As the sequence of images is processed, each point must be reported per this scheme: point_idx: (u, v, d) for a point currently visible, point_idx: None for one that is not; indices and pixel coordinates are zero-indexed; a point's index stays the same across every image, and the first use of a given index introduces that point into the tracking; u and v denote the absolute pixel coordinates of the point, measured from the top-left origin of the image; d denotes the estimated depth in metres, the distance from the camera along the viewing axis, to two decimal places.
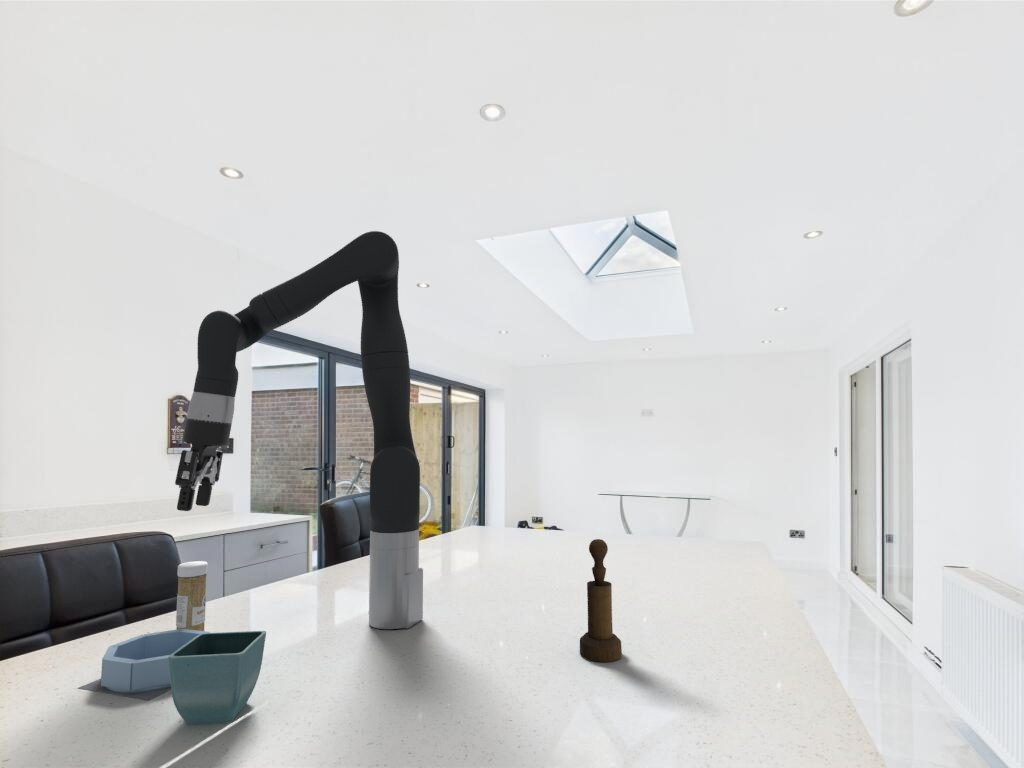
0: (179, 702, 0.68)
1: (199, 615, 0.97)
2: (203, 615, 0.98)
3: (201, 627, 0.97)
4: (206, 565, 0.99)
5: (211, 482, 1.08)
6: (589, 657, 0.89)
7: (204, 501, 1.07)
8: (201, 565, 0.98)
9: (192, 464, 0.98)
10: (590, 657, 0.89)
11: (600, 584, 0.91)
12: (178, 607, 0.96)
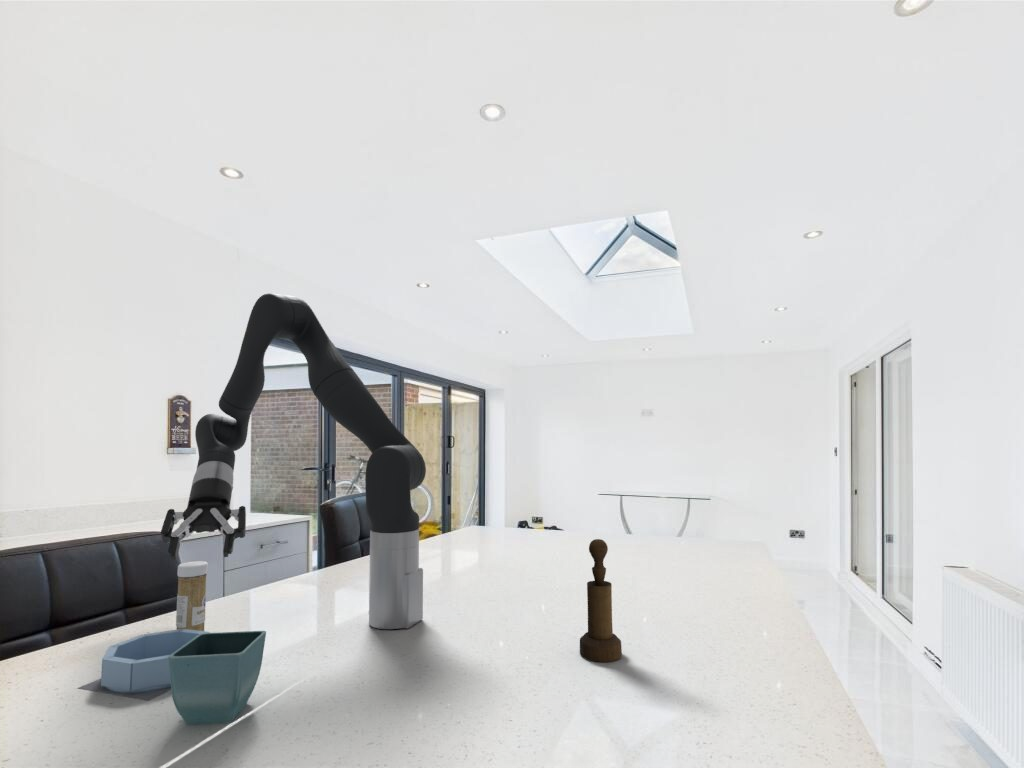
0: (179, 702, 0.68)
1: (199, 615, 0.97)
2: (203, 615, 0.98)
3: (201, 627, 0.97)
4: (206, 565, 0.99)
5: (226, 531, 1.09)
6: (589, 657, 0.89)
7: (224, 549, 1.07)
8: (201, 565, 0.98)
9: (165, 519, 1.08)
10: (590, 657, 0.89)
11: (600, 584, 0.91)
12: (178, 607, 0.96)
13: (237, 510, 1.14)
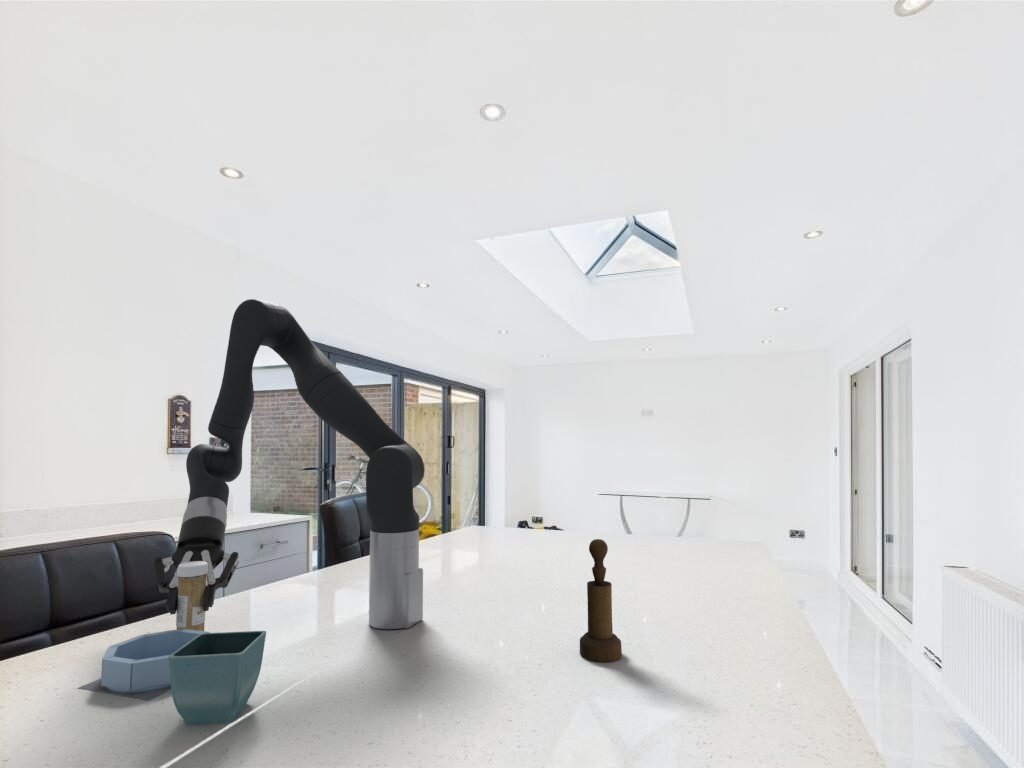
0: (179, 702, 0.68)
1: (199, 615, 0.97)
2: (203, 615, 0.98)
3: (201, 627, 0.97)
4: (206, 565, 0.99)
5: (207, 581, 1.00)
6: (589, 657, 0.89)
7: None
8: (201, 565, 0.98)
9: None
10: (590, 657, 0.89)
11: (600, 584, 0.91)
12: (178, 607, 0.96)
13: (230, 555, 1.05)
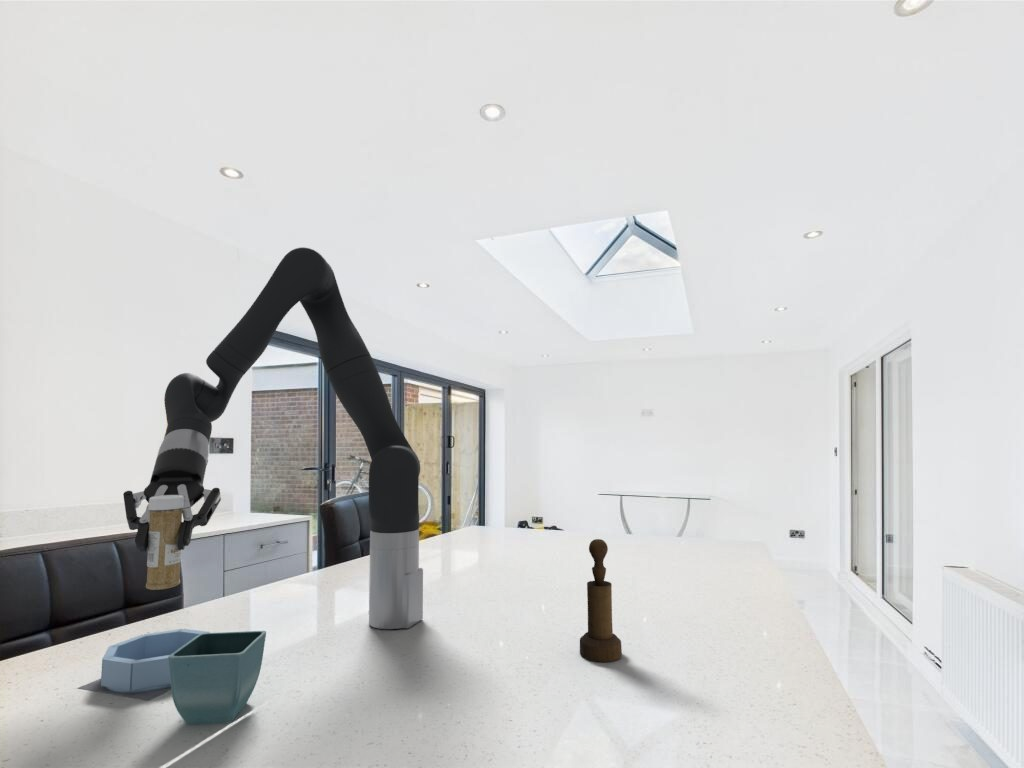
0: (179, 702, 0.68)
1: (174, 554, 0.85)
2: (178, 555, 0.86)
3: (176, 568, 0.85)
4: (182, 498, 0.87)
5: (183, 517, 0.88)
6: (589, 657, 0.89)
7: None
8: (176, 497, 0.86)
9: None
10: (590, 657, 0.89)
11: (600, 584, 0.91)
12: (149, 544, 0.84)
13: (210, 491, 0.93)
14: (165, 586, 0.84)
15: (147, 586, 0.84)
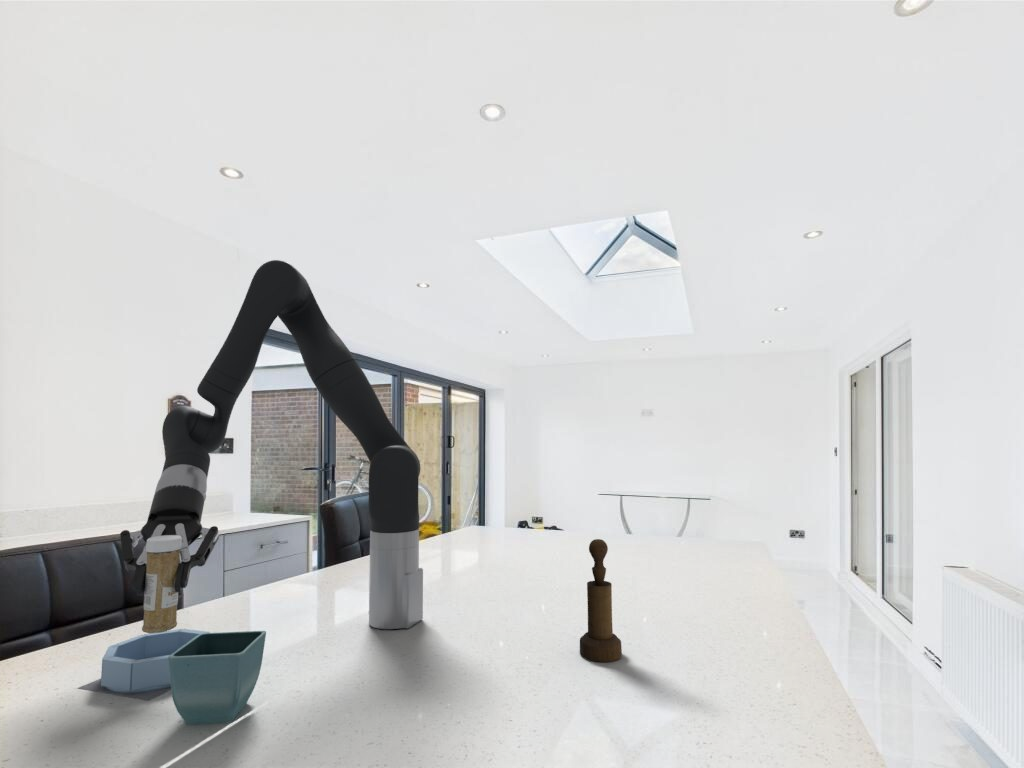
0: (179, 702, 0.68)
1: (171, 597, 0.84)
2: (176, 597, 0.85)
3: (173, 610, 0.85)
4: (180, 539, 0.86)
5: (181, 558, 0.87)
6: (589, 657, 0.89)
7: None
8: (173, 539, 0.85)
9: None
10: (590, 657, 0.89)
11: (600, 584, 0.91)
12: (146, 587, 0.83)
13: (208, 530, 0.92)
14: (162, 630, 0.83)
15: (143, 629, 0.83)
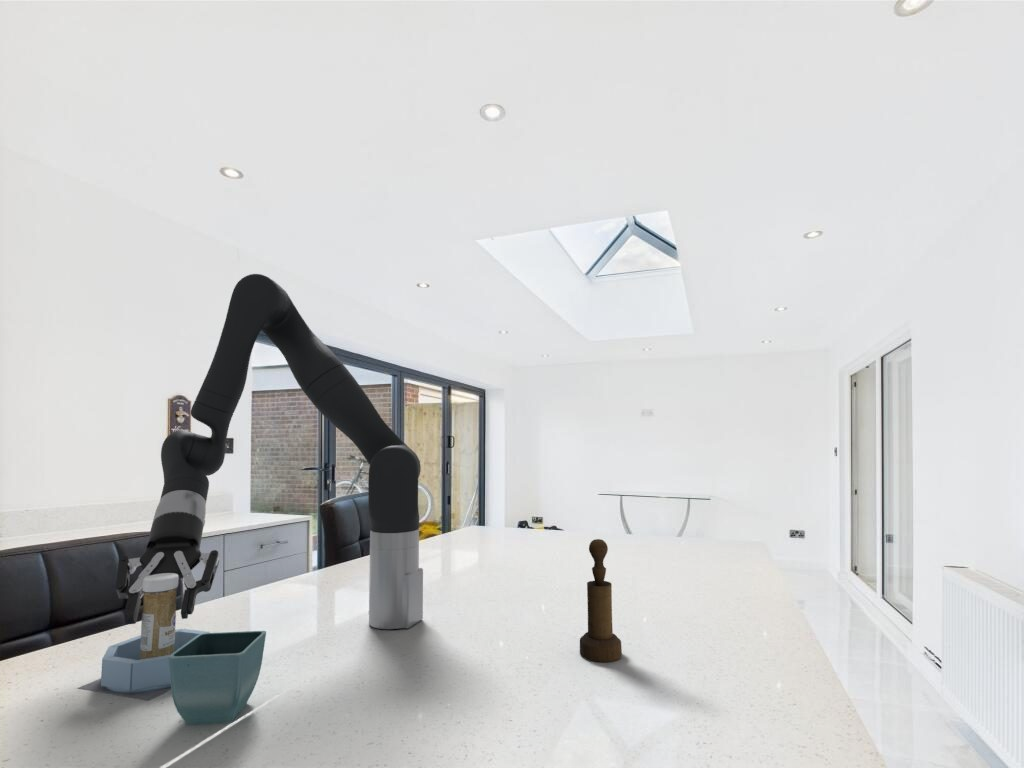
0: (179, 702, 0.68)
1: (168, 636, 0.84)
2: (173, 636, 0.85)
3: (170, 650, 0.84)
4: (176, 578, 0.86)
5: (186, 584, 0.87)
6: (589, 657, 0.89)
7: None
8: (170, 578, 0.85)
9: (118, 570, 0.86)
10: (590, 657, 0.89)
11: (600, 584, 0.91)
12: (143, 627, 0.83)
13: (208, 554, 0.92)
14: None
15: None
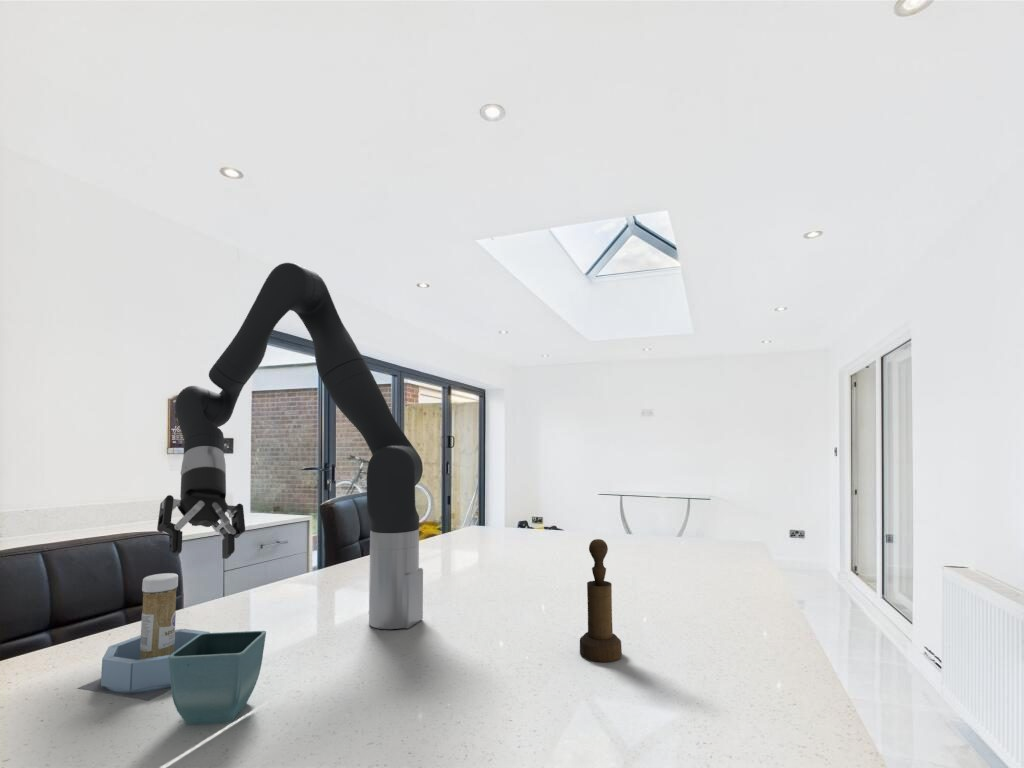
0: (179, 702, 0.68)
1: (168, 637, 0.84)
2: (172, 636, 0.85)
3: (170, 650, 0.84)
4: (176, 578, 0.86)
5: (228, 531, 1.05)
6: (589, 657, 0.89)
7: (226, 551, 1.03)
8: (170, 578, 0.84)
9: (164, 506, 0.99)
10: (590, 657, 0.89)
11: (600, 584, 0.91)
12: (142, 627, 0.83)
13: (233, 507, 1.09)
14: None
15: None
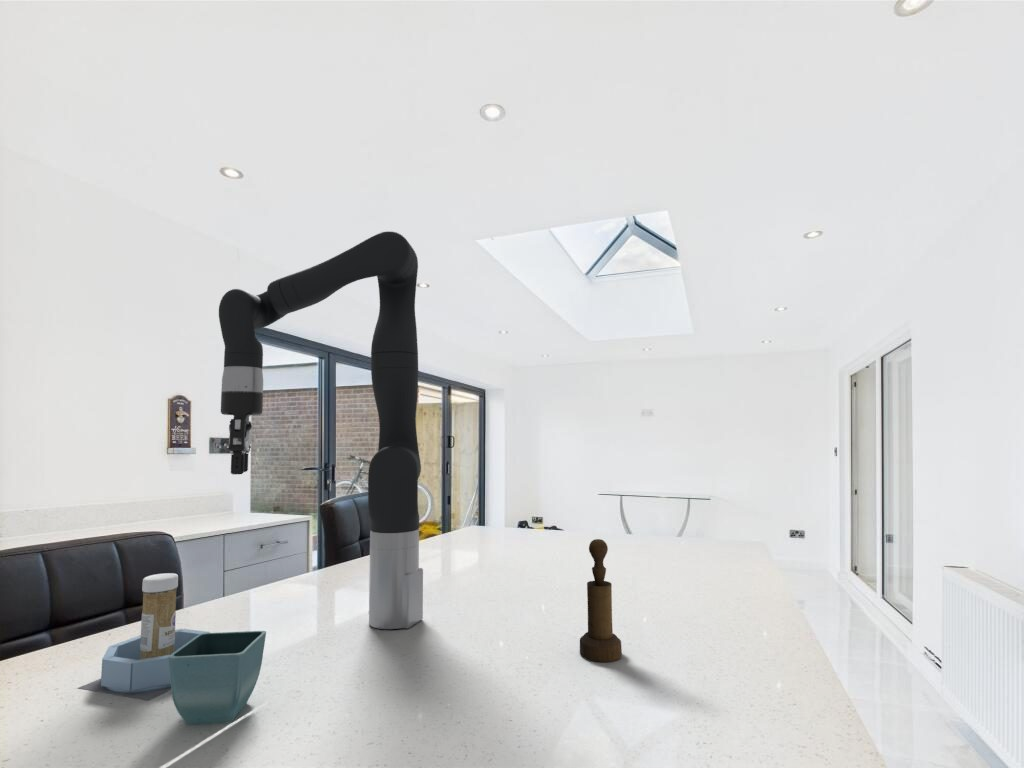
0: (179, 702, 0.68)
1: (168, 637, 0.84)
2: (172, 636, 0.85)
3: (170, 650, 0.84)
4: (176, 578, 0.86)
5: (247, 450, 1.17)
6: (589, 657, 0.89)
7: (243, 467, 1.16)
8: (170, 578, 0.84)
9: (242, 430, 1.07)
10: (590, 657, 0.89)
11: (600, 584, 0.91)
12: (142, 627, 0.83)
13: None
14: None
15: None
